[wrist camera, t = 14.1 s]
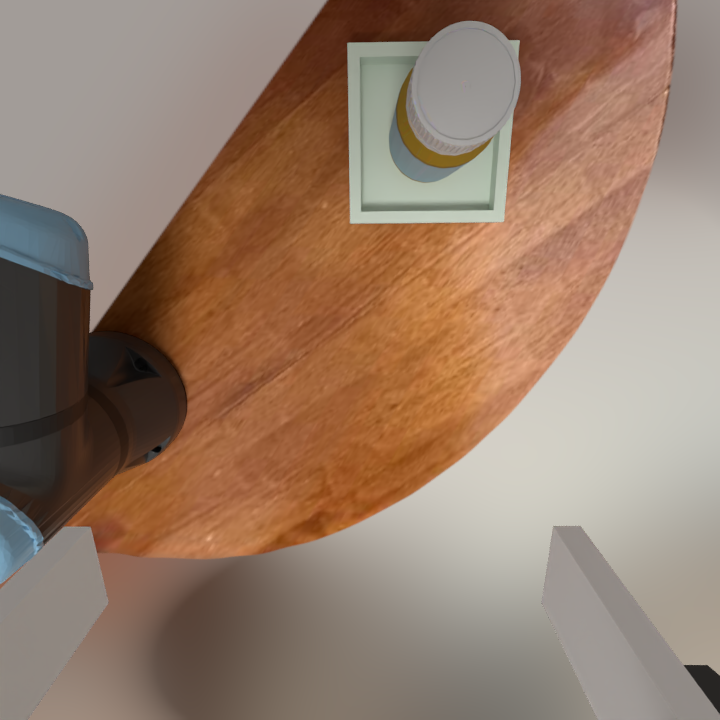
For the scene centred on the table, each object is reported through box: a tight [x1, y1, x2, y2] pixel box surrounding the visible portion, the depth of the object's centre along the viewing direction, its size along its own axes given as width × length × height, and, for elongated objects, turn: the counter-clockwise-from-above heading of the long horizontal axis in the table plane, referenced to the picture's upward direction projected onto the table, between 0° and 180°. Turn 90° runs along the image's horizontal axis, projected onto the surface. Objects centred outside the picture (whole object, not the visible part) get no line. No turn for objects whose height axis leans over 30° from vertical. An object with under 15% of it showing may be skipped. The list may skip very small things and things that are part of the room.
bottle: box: [389, 21, 521, 183], centre depth 30 cm, size 7×7×15 cm
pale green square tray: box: [347, 40, 520, 224], centre depth 37 cm, size 14×14×2 cm
